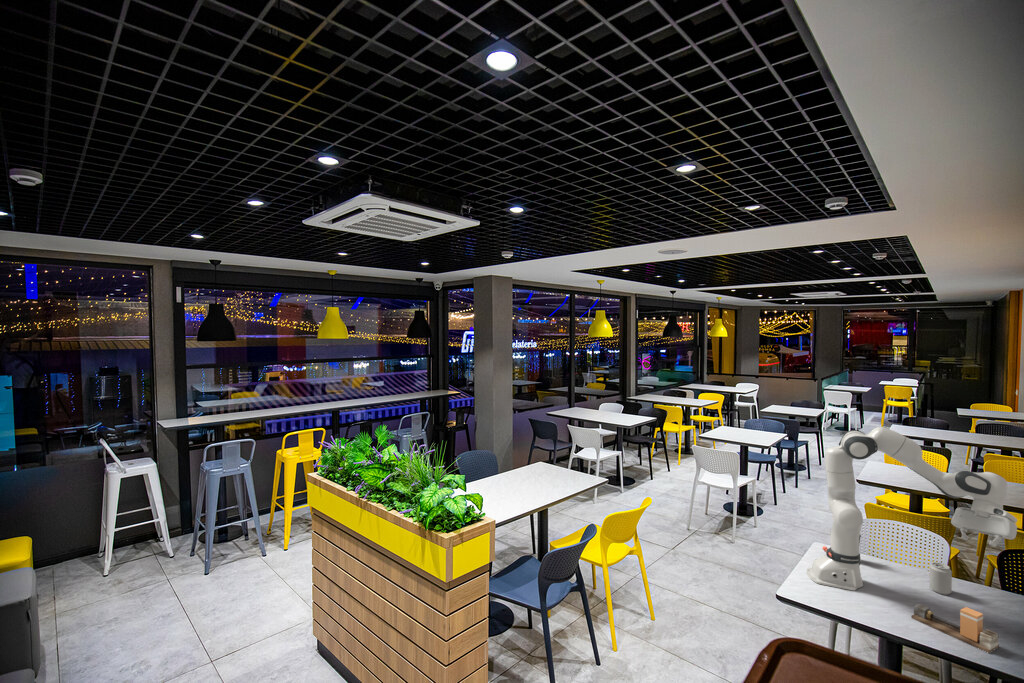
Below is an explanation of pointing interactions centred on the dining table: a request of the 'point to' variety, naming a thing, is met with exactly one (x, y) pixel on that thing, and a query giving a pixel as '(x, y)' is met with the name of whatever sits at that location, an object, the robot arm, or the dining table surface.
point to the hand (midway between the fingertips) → (978, 542)
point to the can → (940, 578)
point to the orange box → (971, 623)
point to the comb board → (955, 629)
